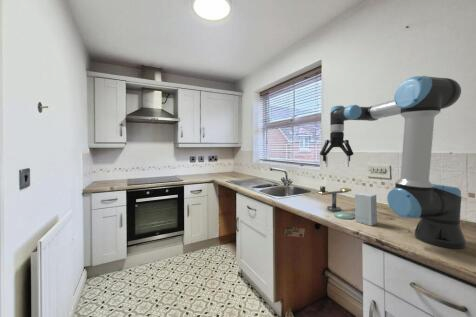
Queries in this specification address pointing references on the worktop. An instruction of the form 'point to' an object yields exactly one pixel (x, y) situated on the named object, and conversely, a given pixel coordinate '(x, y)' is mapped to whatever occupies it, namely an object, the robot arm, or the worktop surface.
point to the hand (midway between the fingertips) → (336, 166)
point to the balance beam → (342, 190)
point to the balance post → (334, 204)
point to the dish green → (344, 215)
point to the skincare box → (365, 208)
